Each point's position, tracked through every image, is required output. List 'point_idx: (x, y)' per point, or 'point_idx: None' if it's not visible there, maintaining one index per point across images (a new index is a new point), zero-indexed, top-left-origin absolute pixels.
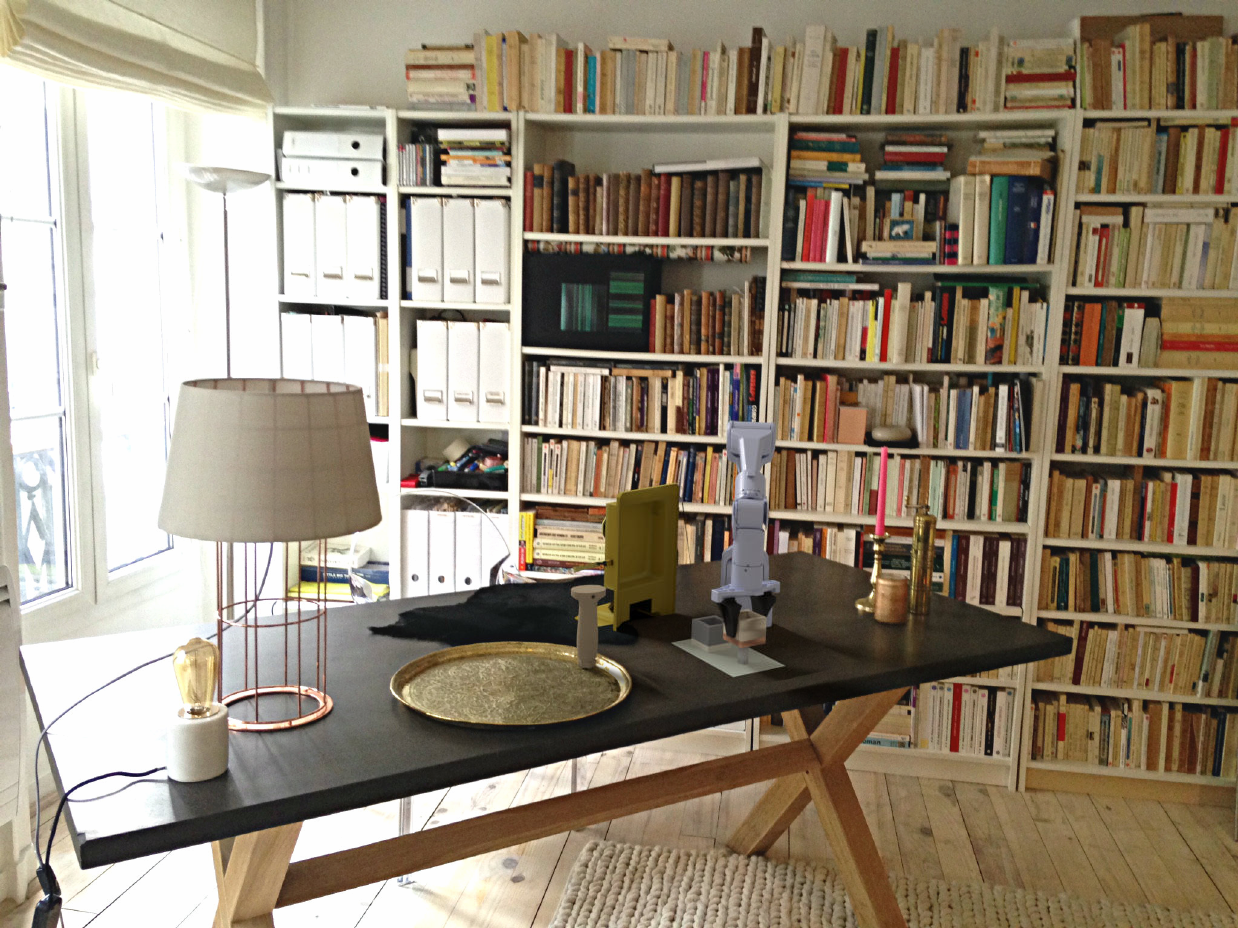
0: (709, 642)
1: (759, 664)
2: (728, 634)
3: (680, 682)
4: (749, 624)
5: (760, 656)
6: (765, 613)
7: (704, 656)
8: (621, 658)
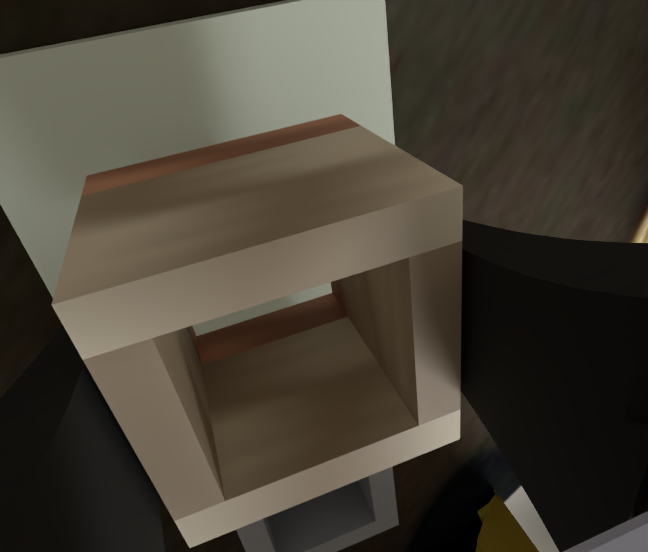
0: None
1: (130, 143)
2: None
3: (554, 103)
4: (337, 198)
5: None
6: (39, 402)
7: None
8: None
